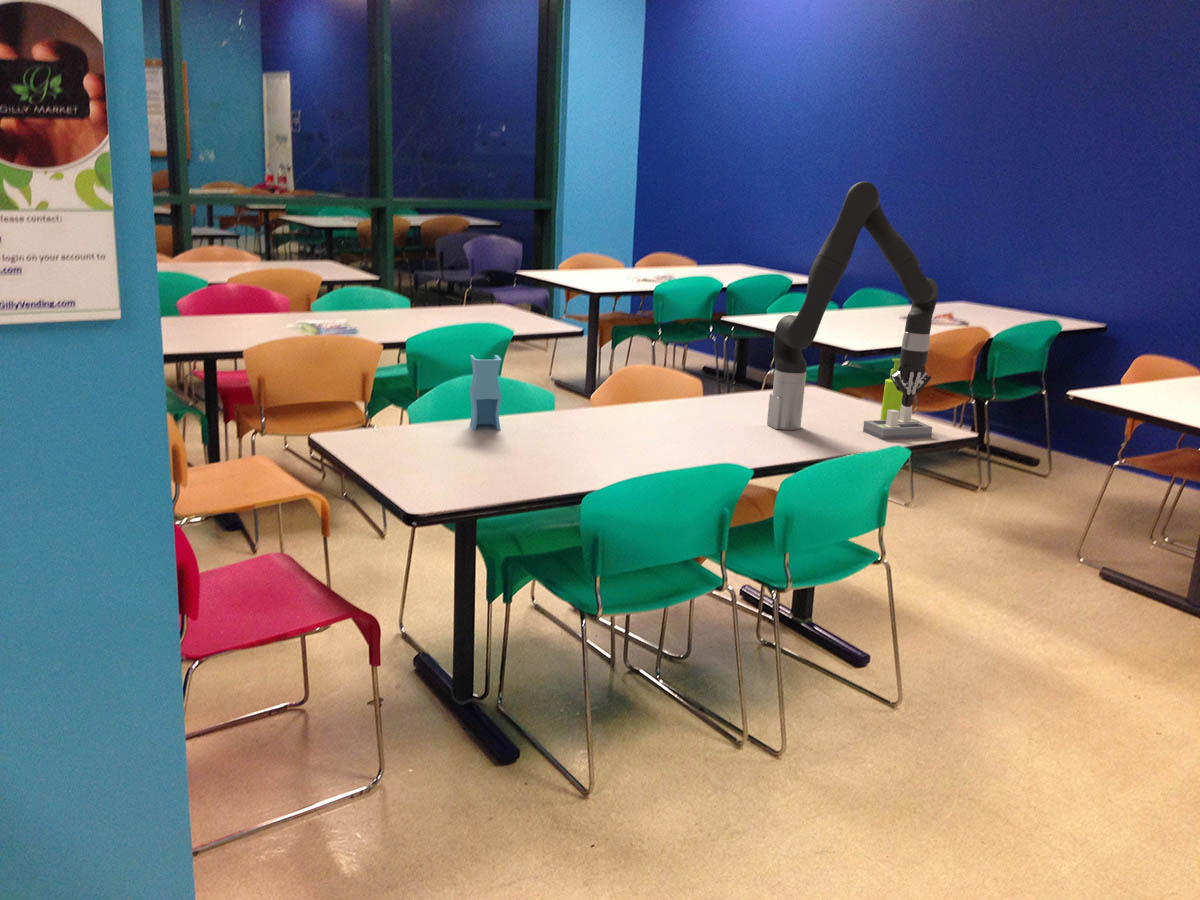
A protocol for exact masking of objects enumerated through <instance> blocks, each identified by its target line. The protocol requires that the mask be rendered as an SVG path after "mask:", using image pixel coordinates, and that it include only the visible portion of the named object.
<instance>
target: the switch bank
mask: <svg viewBox="0 0 1200 900" xmlns="http://www.w3.org/2000/svg"><path fill="white" fill-rule="evenodd" d="M898 420H899V419H898ZM911 421H913V423H898V426H900V428H887V427H885V426H883V425H886V420H880V419H874V420H864V421H863V428H862V432H863V433H866V434H869V435H870V436H873V437H874V438H877V439H880V440H882V441H883V440H885V441H886V440H887V441H888V440H889V441H890V440H903V439H904V440H905V439H926V438H932V433H933V432H932V431H933V426H931V425H929V424H925V423H924V422H921V421H919V420H917V419H914V418H911Z"/></svg>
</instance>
